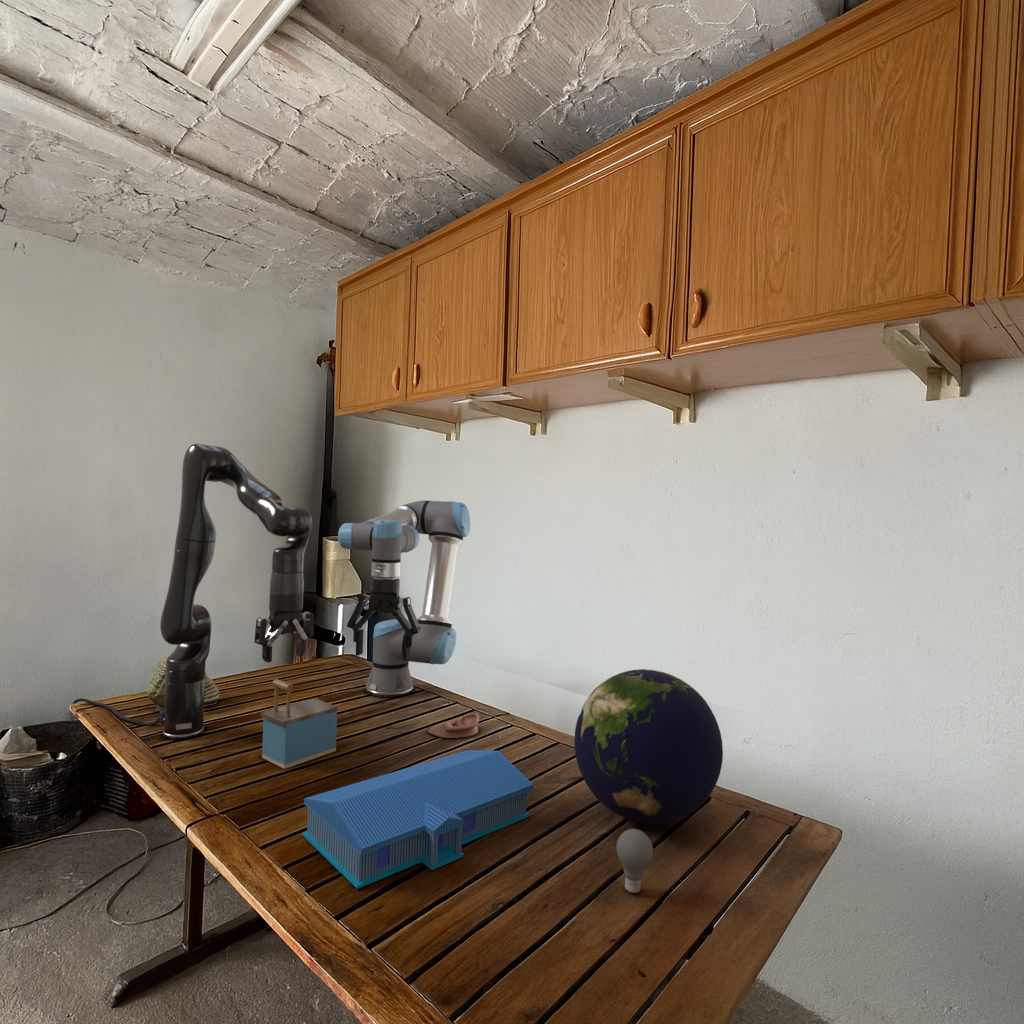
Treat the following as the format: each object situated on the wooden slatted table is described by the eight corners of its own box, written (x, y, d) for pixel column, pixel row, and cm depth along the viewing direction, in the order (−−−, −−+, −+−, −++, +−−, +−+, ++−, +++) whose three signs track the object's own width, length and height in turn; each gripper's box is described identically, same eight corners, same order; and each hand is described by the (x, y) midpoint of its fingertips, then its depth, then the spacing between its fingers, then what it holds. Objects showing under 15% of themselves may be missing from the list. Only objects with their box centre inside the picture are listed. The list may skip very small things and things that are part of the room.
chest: (284, 768, 146) (286, 725, 146) (261, 757, 152) (263, 716, 152) (336, 750, 158) (337, 710, 158) (313, 740, 164) (314, 702, 163)
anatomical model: (424, 720, 170) (437, 707, 181) (423, 735, 170) (437, 721, 181) (472, 726, 167) (482, 712, 179) (471, 741, 167) (482, 726, 179)
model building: (367, 898, 100) (369, 836, 100) (301, 833, 119) (303, 781, 118) (541, 822, 127) (543, 772, 127) (465, 778, 145) (467, 735, 145)
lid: (283, 726, 146) (284, 688, 145) (260, 716, 151) (261, 679, 151) (337, 710, 158) (338, 675, 157) (314, 702, 163) (315, 668, 163)
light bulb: (610, 879, 108) (613, 822, 108) (644, 879, 109) (647, 822, 109) (619, 902, 102) (622, 840, 102) (655, 901, 103) (658, 840, 103)
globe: (552, 832, 123) (559, 678, 123) (592, 773, 151) (597, 648, 150) (712, 872, 112) (721, 703, 111) (723, 800, 140) (730, 665, 139)
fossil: (144, 707, 182) (145, 655, 182) (212, 696, 194) (213, 647, 194) (151, 716, 175) (153, 662, 175) (221, 703, 188) (223, 653, 188)
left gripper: (268, 595, 142) (265, 667, 142) (321, 590, 153) (319, 656, 154) (250, 591, 147) (247, 661, 147) (303, 586, 158) (301, 651, 158)
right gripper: (335, 576, 168) (333, 655, 168) (425, 582, 162) (421, 664, 163) (349, 573, 175) (346, 649, 175) (434, 579, 170) (431, 657, 170)
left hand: (284, 658), depth 150 cm, fingers open, 8 cm apart
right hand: (382, 656), depth 169 cm, fingers open, 13 cm apart
